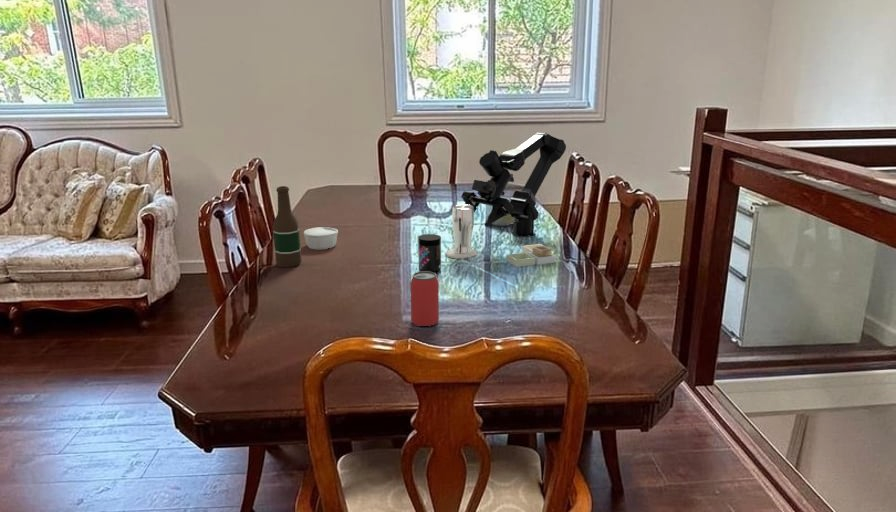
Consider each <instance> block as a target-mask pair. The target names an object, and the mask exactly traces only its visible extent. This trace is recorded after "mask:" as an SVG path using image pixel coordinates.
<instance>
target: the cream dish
mask: <svg viewBox="0 0 896 512" xmlns="http://www.w3.org/2000/svg"><path fill="white" fill-rule="evenodd" d="M538 246H544V245H543V244H541V243H535V244H527V245H522V252H521V253H524V252H525V253H527V254H528V252H533V247H538Z"/></svg>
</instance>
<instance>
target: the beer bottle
mask: <svg viewBox="0 0 896 512" xmlns="http://www.w3.org/2000/svg"><path fill="white" fill-rule="evenodd" d="M275 191H276V192H277V215H276V216H275V218H274V220H273V224H272V233H273V241H274V243H273V244H274V246H273V247H274V255H275V264H276V266H278V267H280V268H286V269H287V268H294V267H298V266H300V265H301V263H302V249H301V235H300V225H299V221H298V219H297V217H296V215H294V213H293V211H292V207H291V200H290V194H289V193H290V188H289V186H285V185H282V186H278V187H276V190H275Z"/></svg>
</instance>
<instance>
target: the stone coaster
mask: <svg viewBox="0 0 896 512" xmlns="http://www.w3.org/2000/svg"><path fill="white" fill-rule="evenodd" d="M453 250H454V248H451V249H448V250H446V251H445V256H446V257H448V258H451V259H455V260H462V259H464V258H465V259H466V258H472V257H474V256H476V255H477V254H478V252H477V251H476V250H475V249H472V253H471V254H467V255H459V254H455V253H454V252H453Z"/></svg>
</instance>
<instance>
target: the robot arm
mask: <svg viewBox="0 0 896 512" xmlns="http://www.w3.org/2000/svg"><path fill="white" fill-rule="evenodd" d="M566 150H567V144H566V143H565V141H564V139H560V138H557V137H555V136H552V135H550V134H549V133H548V132H534V134H533V136H531V137H530V138H528V139H527V140H526V141H524V142H523V143H521V144H520V145H519V146H518V147H516V148H513V149H508V150H506V151H504V152H501V154H500V155H499V154H498V152H497V151H496V150H493V149H491V150H489V152H486V153H484V154H483V155H482V156H481V157H480V158H479V160H478V161H479V165H480V167H481V168H482V169H483V170H484V172H485V173H486V175H488V176H489V177H490V179H489V180H486V181H483V180H479V179H474V180H473V182H472V186H471V190H472V191H469V190H463V192H462V193H461V195H460V198H461V199H462V201H463V202H464V205H471V206H473V209H474V213H475V212H476V211H477V210H478V208H477V207H479V206H480V205H485V206H490V207H491V210H492V211H491V210H490V211H491V213H490V214H489V216H488V218H487V217H486V220H485V222H484V226H485V227H486V228H487V227H489V226H490V225H493V224H492V223H493V222H495V221H496V220H498V219H500V218H501V217H503V216H507V214H509V215H511V217H515V220H514V222H513V223H512V225H513V226H512V231H511V233H512V234H513V235H515V236H516V237H519V238H526V237H533V236H536V233H535V232H534V228H535V221H536V220H537V219H538V218H539V215H540V212H539V211H538V209H537V208H536V204H537V203H536V195H537V193H538V191H539V189H540V188H541V186H542V183H543V182H544V180H545V179H546V177H547V175H548V173H549V171H550V168H551V167H552V166H553V164H554V163H555V162H557V161H559V160H560V159H561V157H562V156H563V155H564V154H565V152H566ZM537 151H539V158H538V161H537V163H536V164H535V166H534V167H533V169H532V171H531V173H530V175H529V177H528V179H527V180H526V183H525V184H524V187H523V188H522V189H521V190H517V189H516V190H515V191H514V192H513V195H512V196H511V198H509V199H510V202H509V200H508V199H507V198H508V197H504V198H501V196H505V195H506V193H505V189H506V187H507V185H508V183H510V182H511V183H514V181H515V178H514V174H513V173H510V171H512V172H518V171H519V170H521V168H523V166H524V165H525V164H526V160H527V158H529V157H531V156H532V155H533V154H535V153H536V152H537ZM473 190H474V191H476V192H477V194H478V195H479V196H478V195H477V194H476V193H475V192H474V191H473Z"/></svg>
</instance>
